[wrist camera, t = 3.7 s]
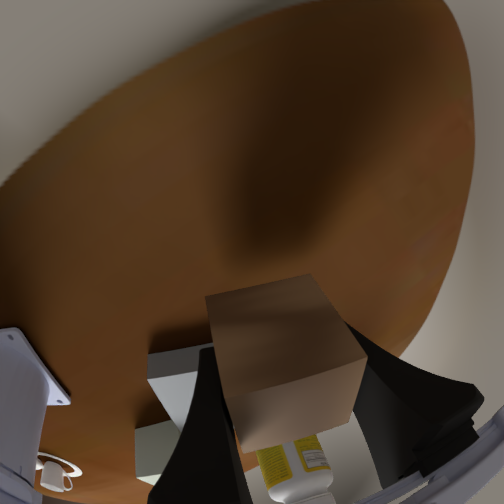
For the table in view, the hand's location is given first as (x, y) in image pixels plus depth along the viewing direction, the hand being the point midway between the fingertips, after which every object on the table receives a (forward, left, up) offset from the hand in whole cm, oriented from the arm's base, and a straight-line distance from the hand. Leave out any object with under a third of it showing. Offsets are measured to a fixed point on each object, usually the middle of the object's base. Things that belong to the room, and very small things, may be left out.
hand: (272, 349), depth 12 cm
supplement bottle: (+1, -17, -5) cm, 18 cm away
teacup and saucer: (-28, -20, -6) cm, 35 cm away
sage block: (-9, -15, -5) cm, 18 cm away
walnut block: (0, 0, -2) cm, 2 cm away
